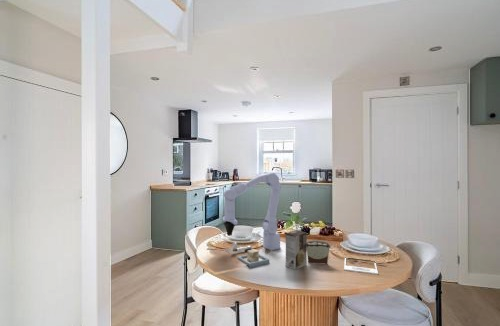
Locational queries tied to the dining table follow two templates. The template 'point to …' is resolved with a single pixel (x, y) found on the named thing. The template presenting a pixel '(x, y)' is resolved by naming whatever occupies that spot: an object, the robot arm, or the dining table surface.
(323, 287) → the dining table surface
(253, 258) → the block
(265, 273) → the dining table surface
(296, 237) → the coffee box
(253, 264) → the tray
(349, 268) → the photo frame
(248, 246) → the crank lever
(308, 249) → the food container
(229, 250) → the board
